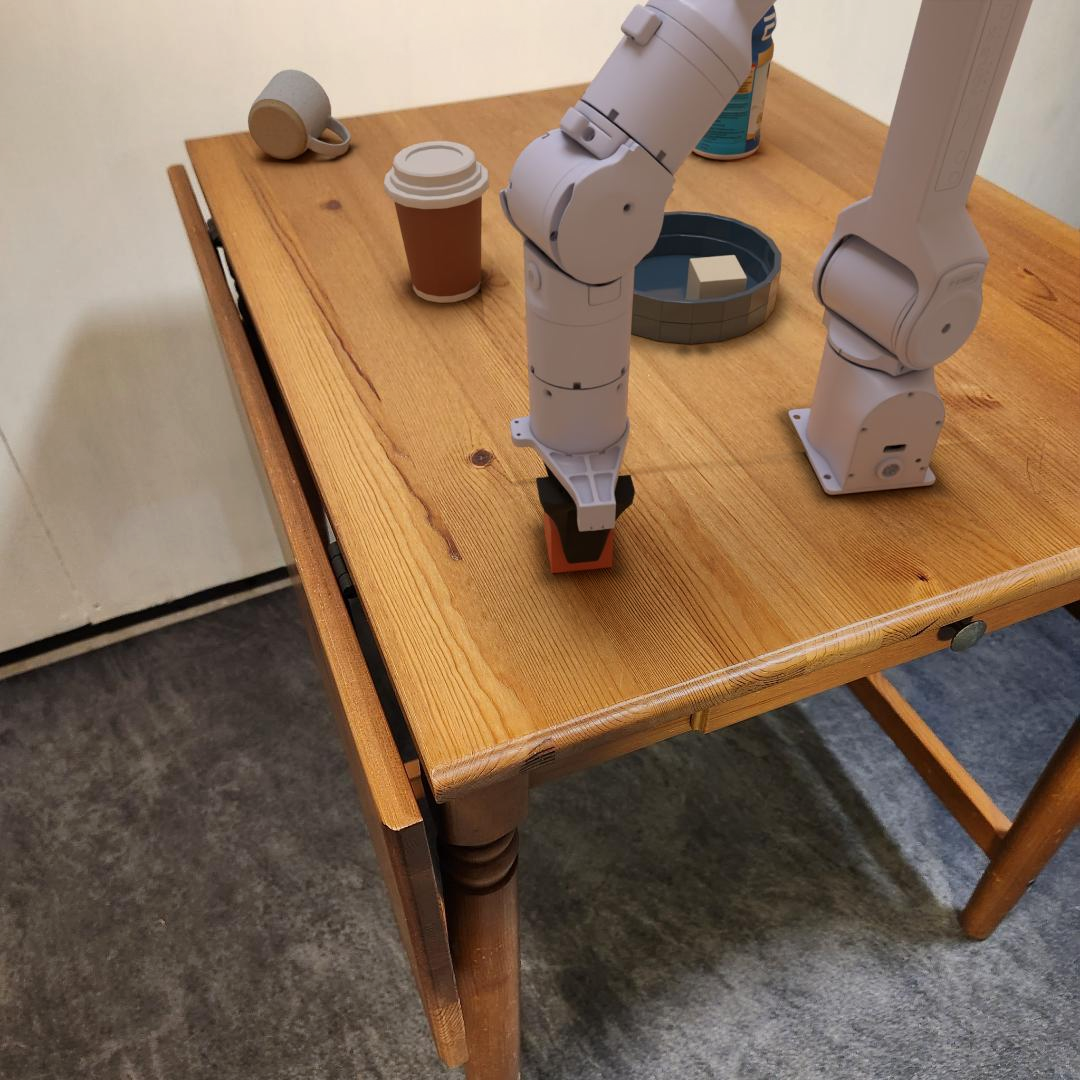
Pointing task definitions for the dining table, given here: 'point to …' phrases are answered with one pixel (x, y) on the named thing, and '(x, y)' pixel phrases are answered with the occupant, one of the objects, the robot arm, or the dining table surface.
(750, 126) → the beverage bottle
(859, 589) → the dining table surface
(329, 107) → the ceramic mug
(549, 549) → the terracotta block
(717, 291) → the cream block
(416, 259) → the coffee cup
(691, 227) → the bowl
